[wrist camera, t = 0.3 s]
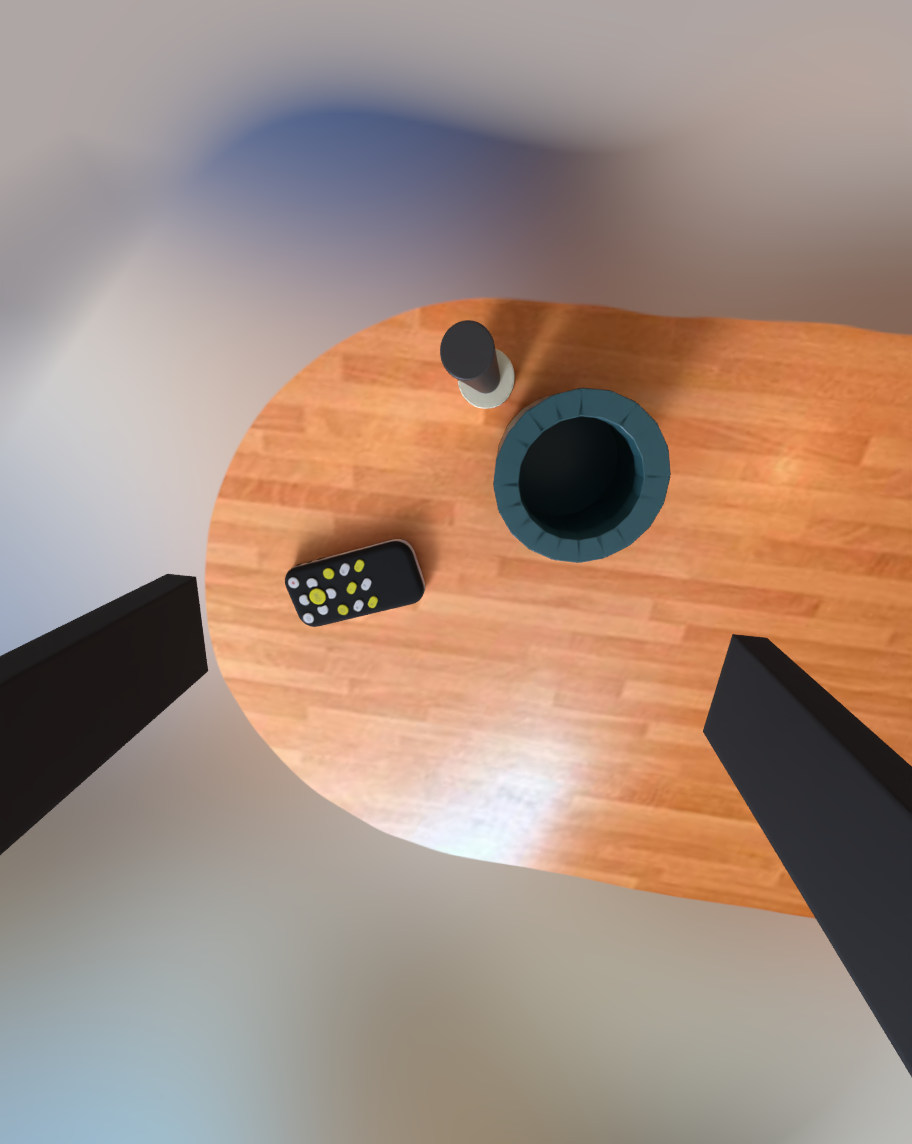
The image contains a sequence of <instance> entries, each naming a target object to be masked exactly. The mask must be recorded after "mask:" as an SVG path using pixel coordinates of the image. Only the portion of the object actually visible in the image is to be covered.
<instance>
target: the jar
mask: <svg viewBox="0 0 912 1144" xmlns="http://www.w3.org/2000/svg"><path fill="white" fill-rule="evenodd" d="M670 475H671V473H670V461H669V450H668V446H667V444H666V441H665V439H664V437H663V435H662V433H661V430H660V428H659V426H658V424H657V423H656V421H655V420H654V419H653V418H652V417H651V416H650V415H649V414H648V413H647V412H646V411H645V410H644V409H643V408H642V407H641V406H640V405H639V404H638V403H636V402H635V401H633V400H631V399H628V398H626V397H624V396H622V395H620V394H618V393H615V392H613V391H610V390H601V389H590V388H579V389H574V390H570V391H566V392H562V393H558V394H554V395H550V396H547V397H543V398H540V399H538V400H536V401H535V402H533V403H531V404H529V405H528V406H526V407H525V408H523V409H522V410H521V411H520V412H519V413H518V414H517V415H516V416H515V417H514V418H513V420H512V421H511V422H510V423H509V424H508V426H507V428H506V430H505V432H504V434H503V436H502V439H501V441H500V443H499V447H498V453H497V458H496V466H495V474H494V483H493V485H494V491H495V496H496V501H497V506H498V510H499V513H500V515H501V516H502V518H503V520H504V521H505V523H506V525H507V527H508V528H509V530H510V532H511V533H512V534H513V535H514V536H515V537H516V538H517V539H518V540H519V541H521V542H522V543H523V544H524V545H525V546H526V547H527V548H528V549H530V550H532V551H534V552H536V553H539V554H541V555H543V556H545V557H548V558H550V559H554V560H559V561H568V562H576V563H578V562H579V563H581V562H586V561H592V560H597V559H603V558H605V557H608V556H610V555H612V554H614V553H616V552H618V551H620V550H622V549H624V548H626V547H628V546H630V545H631V544H632V543H633V542H634V541H635V540H636V539H637V538H639V537H640V536H641V535H642V534H643V533H644V532H645V531H646V530H647V529H648V528H649V527H650V526H651V524H652V523H653V521H654V519H655V518H656V516H657V514H658V513H659V511H660V509H661V508H662V506H663V504H664V503H663V502H664V501H665V497H666V493H667V489H668V484H669V480H670Z"/></svg>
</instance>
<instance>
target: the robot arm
mask: <svg viewBox="0 0 912 1144" xmlns="http://www.w3.org/2000/svg"><path fill="white" fill-rule="evenodd" d="M207 671H208V666H207V659H206V651H205V644H204V635H203V627H202V620H201V612H200V604H199V596H198V588H197V581H196V577H192V576H182V575H174V574H166V575H164V576H162V577H160V578H158V579H156V580H154V581H152V582H150V583H148V584H146V585H144V586H142V587H140V588H138V589H136V590H134V591H132V592H129V593H127V594H125V595H123V596H122V597H119V598H117V599H115V600H113V601H111V602H109V603H107V604H105V605H103V606H101V607H99V608H97V609H95V610H93V611H91V612H89V613H87V614H85V615H83V616H81V617H79V618H77V619H75V620H73V621H71V622H69V623H67V624H65V625H62V626H61V627H58V628H56V629H55V630H52V631H50V632H48V633H46V634H44V635H42V636H40V637H38V638H36V639H34V640H32V641H30V642H28V643H26V644H24V645H22V646H20V647H18V648H16V649H14V650H12V651H10V652H8V653H6V654H4V655H2V656H0V855H1V854H2V853H3V852H4V851H5V850H7V849H8V848H9V847H10V846H11V845H12V844H13V843H14V842H16V841H17V840H18V839H19V838H20V837H21V836H22V835H24V834H25V833H26V832H27V831H28V830H29V829H30V828H31V827H32V826H34V825H35V824H36V823H37V822H38V821H39V820H40V819H42V818H43V817H44V816H45V815H46V814H47V813H48V812H49V811H51V810H52V809H53V808H54V807H55V806H56V805H57V804H59V803H60V802H61V801H62V800H63V799H64V798H65V797H66V796H68V795H69V794H70V793H71V792H72V791H73V790H74V789H75V788H76V787H78V786H79V785H80V784H81V783H82V782H83V781H85V780H86V779H87V778H88V777H89V776H90V775H91V774H92V773H93V772H95V771H96V770H97V769H98V768H99V767H100V766H101V765H102V764H104V763H105V762H106V761H107V760H108V759H109V758H110V757H112V756H113V755H114V754H115V753H116V752H117V751H118V750H120V749H121V748H122V747H123V746H124V745H125V744H126V743H127V742H128V741H130V740H131V739H132V738H133V737H134V736H135V735H136V734H138V733H139V732H140V731H141V730H142V729H143V728H144V727H146V725H148V724H149V723H150V722H151V721H152V720H153V719H155V718H156V717H157V716H158V715H159V714H160V713H161V712H162V711H164V710H165V709H166V708H167V707H168V706H169V705H170V704H171V703H173V702H174V701H175V700H176V699H177V698H178V697H179V696H180V695H182V694H183V693H184V692H185V691H186V690H187V689H188V688H189V687H191V686H192V685H193V684H194V683H195V682H196V681H197V680H199V679H200V678H201V677H202V676H203V675H204V674H205V673H207ZM703 732H704V734H705V736H706V737H707V739H708V741H709V742H710V744H711V746H712V747H713V749H714V751H715V752H716V754H717V756H718V757H719V759H720V761H721V762H722V764H723V766H724V767H725V769H726V771H727V772H728V774H729V775H730V777H731V779H732V780H733V782H734V784H735V785H736V787H737V789H738V790H739V792H740V794H741V795H742V797H743V799H744V800H745V802H746V804H747V805H748V807H749V809H750V810H751V812H752V814H753V815H754V817H755V819H756V820H757V822H758V823H759V825H760V827H761V828H762V830H763V832H764V833H765V835H766V837H767V838H768V840H769V842H770V843H771V845H772V847H773V848H774V850H775V852H776V853H777V855H778V857H779V858H780V860H781V862H782V863H783V865H784V867H785V868H786V870H787V871H788V873H789V875H790V876H791V878H792V880H793V881H794V883H795V885H796V886H797V888H798V890H799V891H800V893H801V895H802V896H803V898H804V900H805V901H806V903H807V905H808V906H809V908H810V910H811V911H812V913H813V914H814V916H815V918H816V919H817V921H818V923H819V924H820V926H821V928H822V929H823V931H824V933H825V934H826V936H827V938H828V939H829V941H830V943H831V944H832V946H833V948H834V949H835V951H836V953H837V954H838V956H839V958H840V959H841V961H842V962H843V964H844V966H845V967H846V969H847V971H848V972H849V974H850V976H851V977H852V979H853V981H854V982H855V984H856V986H857V987H858V989H859V991H860V992H861V994H862V995H863V997H864V999H865V1000H866V1002H867V1004H868V1006H869V1007H870V1009H871V1010H872V1012H873V1014H874V1015H875V1017H876V1019H877V1020H878V1022H879V1024H880V1025H881V1027H882V1029H883V1030H884V1032H885V1034H886V1035H887V1037H888V1039H889V1040H890V1042H891V1044H892V1045H893V1047H894V1048H895V1050H896V1052H897V1053H898V1055H899V1056H900V1058H901V1060H902V1062H903V1063H904V1065H905V1067H906V1068H907V1070H908V1072H909V1073H910V1075H911V1077H912V766H910V765H909V764H908V763H907V762H906V761H905V760H904V759H903V758H901V757H900V756H899V755H898V754H897V753H896V752H895V751H894V750H892V749H891V748H890V747H889V746H888V745H887V744H886V743H885V742H883V741H882V740H881V739H880V738H879V737H878V736H877V735H876V734H874V733H873V732H872V731H871V730H870V729H869V728H868V727H867V726H865V725H864V724H863V723H862V722H861V721H860V720H859V719H858V718H856V717H855V716H854V715H853V714H852V713H851V712H850V711H849V710H847V709H846V708H845V707H844V706H843V705H842V704H841V703H840V702H838V701H837V700H836V699H835V698H834V697H833V696H832V695H831V694H829V693H828V692H827V691H826V690H825V689H824V688H823V687H822V686H820V685H819V684H818V683H817V682H816V681H815V680H814V679H813V678H811V677H810V676H809V675H808V674H807V673H806V672H805V671H804V670H802V669H801V668H800V667H799V666H798V665H797V664H796V663H795V662H793V661H792V660H791V659H790V658H789V657H788V656H787V655H786V654H784V653H783V652H782V651H781V650H780V649H779V648H778V647H777V646H775V645H774V644H773V643H772V642H771V641H770V640H769V639H768V638H763V637H754V636H744V635H735V634H733V635H732V638H731V641H730V644H729V648H728V651H727V654H726V658H725V661H724V664H723V667H722V671H721V674H720V677H719V680H718V684H717V687H716V690H715V694H714V697H713V700H712V703H711V707H710V710H709V713H708V716H707V720H706V723H705V726H704V729H703Z"/></svg>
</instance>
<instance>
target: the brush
mask: <svg viewBox="0 0 912 1144" xmlns="http://www.w3.org/2000/svg"><path fill="white" fill-rule="evenodd" d="M440 355H441V360H442V363H443V365H444V367H445V369H446V370H447V371H448V373H449V374H450V375H452V376H453V377H455V378H456V379H458V384H459V388H460V391H461V393H462V395H463V397H464V398H465V399H466V400H467V401H468V402H469V403H470V404H472V405H473V406H476V407H478V408H486V409H487V408H494V407H497V406H499V405H501V404H502V403H504V402H505V401H506V400H507V399H508V397H509V396H510V394H511V392H512V389H513V386H514V380H515V374H514V369H513V365H512V363H511V361H510V360H509V358H508V357H507V356H506V355H505V354H504V353H503V352H501V351H500V350H497V349H495V345H494V340H493V338H492V335H491V334H490V332H489V331H488V330H487V328H486V327H484V326H483V325H482V324H480V323H478V322H475V321H470V320H466V321H461V322H458V323H456V324H454V325H453V326H452V327H450V328H449V329H448V331H447V332H446V333H445V335H444V337H443V339H442V342H441V347H440Z"/></svg>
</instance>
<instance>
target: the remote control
mask: <svg viewBox="0 0 912 1144" xmlns="http://www.w3.org/2000/svg"><path fill="white" fill-rule="evenodd" d="M285 585H286V588H287V590H288V592H289V595H290V597H291V599H292V602H293V604H294V606H295V609H296V611H297V613H298V616H299V617H300V619H301V620H302V621H303V622H304V623H305V624H307V625H309V626H313V627H316V626H322V625H326V624H330V623H334V622H339V621H343V620H347V619H351V618H355V617H360V616H364V615H368V614H372V613H376V612H381V611H385V610H389V609H393V608H397V607H402V606H406V605H410V604H413V603H416V602H418V601H419V600H420V599H421V598H422V596H423V594H424V591H425V581H424V578H423V575H422V572H421V569H420V566H419V563H418V560H417V557H416V554H415V551H414V549H413V547H412V546H411V545H410V544H409V543H408V542H407V541H405V540H402V539H393V540H389V541H385V542H382V543H378V544H374V545H370V546H367V547H363V548H359V549H355V550H352V551H348V552H344V553H341V554H337V555H333V556H329V557H324V558H320V559H317V560H314V561H310V562H307V563H303V564H298V565H296V566H295V567H293V568H292V569H291V570H289V571H288V573H287V574H286V577H285Z"/></svg>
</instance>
